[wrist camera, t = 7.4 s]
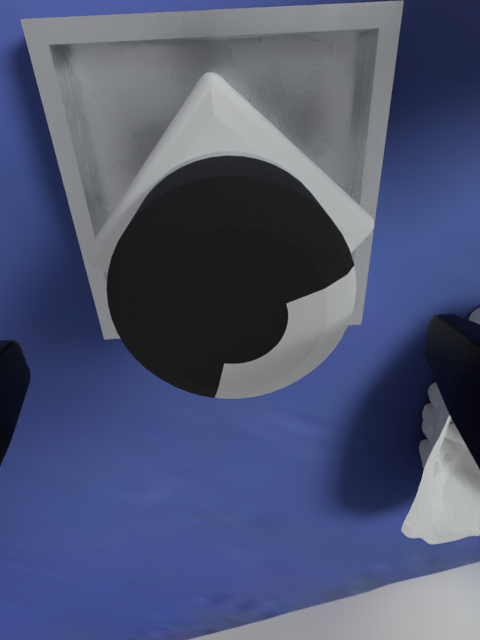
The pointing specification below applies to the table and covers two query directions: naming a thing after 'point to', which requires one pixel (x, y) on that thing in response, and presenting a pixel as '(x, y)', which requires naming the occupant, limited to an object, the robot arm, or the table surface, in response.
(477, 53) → the table surface
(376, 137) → the tray
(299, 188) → the medicine bottle
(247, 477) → the table surface
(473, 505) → the dental model
